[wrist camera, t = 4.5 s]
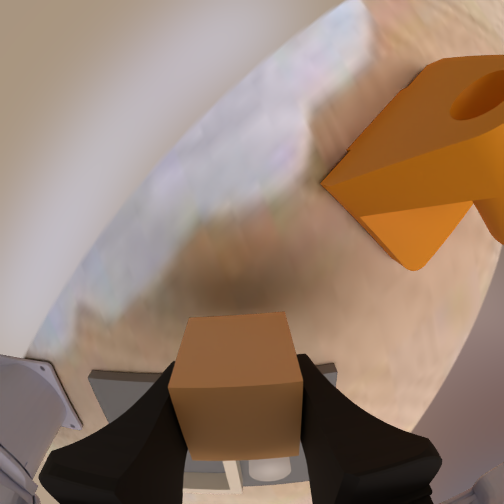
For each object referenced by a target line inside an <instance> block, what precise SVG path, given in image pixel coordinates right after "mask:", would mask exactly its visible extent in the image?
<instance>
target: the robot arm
mask: <svg viewBox="0 0 504 504" xmlns="http://www.w3.org/2000/svg"><path fill="white" fill-rule="evenodd" d="M296 356H297V359H298V363H299V367H300V371H301V374H302V378H303V399H302V417H301V434H300V440H301V444H302V447H303V451H304V454H305V458H306V463H307V469H308V475H309V481H310V488H311V495H312V502H313V504H433V502H432V500H431V497H430V495H431V494H432V489H431V487H430V485H429V484H430V482H431V481H432V479H433V478H434V477H435V475H436V474H437V472H438V471H439V469H440V467H441V465H442V459H441V457H440V456H439V453H438V452H437V450H436V448H435V447H434V445H433V444H432V443H431V442H430V440H429V439H428V438H425V437H422V436H418V435H415V434H412V433H409V432H406V431H403V430H401V429H398V428H396V427H394V426H391V425H389V424H387V423H385V422H383V421H381V420H380V419H378V418H376V417H374V416H372V415H371V414H369V413H367V412H366V411H364V410H363V409H361V408H360V407H359V406H357V405H356V404H354V403H353V402H352V401H351V400H349V399H348V398H347V397H346V396H345V395H343V394H342V393H341V392H340V391H339V390H338V389H337V388H336V387H335V386H334V385H333V384H332V383H331V382H330V381H329V380H328V379H327V378H326V377H325V376H324V375H323V374H322V373H321V372H320V370H319V369H318V368H317V367H316V366H315V365H314V363H313V362H312V361H311V359H310V358H309V357H308V356H307V355H306V354H298V355H296ZM175 362H176V361H173V362H172V363H171V364H170V365H169V366H168V367H167V369H166V370H165V371H164V372H163V373H162V375H161V376H160V377H159V378H158V379H157V380H156V382H155V383H154V384H153V385H152V386H151V387H150V388H149V389H148V390H147V392H146V393H145V394H144V395H143V396H142V397H141V398H140V399H139V400H138V401H137V402H136V403H135V404H134V405H133V406H131V407H130V408H129V409H128V410H127V411H126V412H124V413H123V414H122V415H121V416H119V417H118V418H117V419H115V420H114V421H113V422H111V423H109V424H108V425H106V426H105V427H103V428H102V429H100V430H99V431H97V432H95V433H93V434H92V435H90V436H88V437H86V438H84V439H82V440H80V441H77V442H75V443H73V444H70V445H67V446H65V447H62V448H59V449H56V450H53V451H51V453H50V455H49V456H48V458H47V460H46V462H45V464H44V466H43V468H42V470H41V473H40V474H39V480H40V483H41V484H42V486H43V487H44V488H45V489H46V490H47V491H48V493H49V494H50V495H51V496H53V497H54V499H56V500H57V501H58V502H59V503H60V504H182V498H183V480H184V468H185V461H186V456H187V451H188V447H187V444H186V442H185V439H184V436H183V433H182V430H181V427H180V424H179V422H178V419H177V416H176V412H175V409H174V406H173V403H172V400H171V397H170V393H169V390H168V385H169V382H170V378H171V375H172V372H173V368H174V365H175ZM61 426H62V427H67V428H71V429H76V430H82V428H83V426H82V424H81V422H80V420H79V419H78V417H77V415H76V413H75V412H74V410H73V408H72V406H71V404H70V402H69V400H68V398H67V396H66V394H65V392H64V390H63V388H62V386H61V384H60V382H59V380H58V378H57V376H56V374H55V371H54V369H53V367H52V365H51V364H49V363H47V362H42V361H35V360H29V359H22V358H17V357H11V356H6V355H0V504H41V503H40V499H39V497H38V496H37V495H36V494H35V492H36V490H37V487H38V485H37V484H36V483H34V481H32V480H33V478H34V476H35V474H36V472H37V470H38V468H39V466H40V464H41V462H42V460H43V458H44V456H45V454H46V452H47V451H48V449H49V447H50V445H51V443H52V441H53V439H54V438H55V436H56V434H57V432H58V430H59V429H60V427H61ZM440 504H504V462H503V463H502V464H500V465H498V466H497V467H495V468H494V469H492V470H490V471H488V472H487V473H485V474H484V475H483V476H481V477H480V478H479V479H478V480H477V481H476V482H475V484H474V485H473V487H472V488H470V489H468V490H466V491H464V492H462V493H460V494H458V495H456V496H454V497H452V498H450V499H448V500H446V501H444V502H442V503H440Z"/></svg>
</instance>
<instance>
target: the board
mask: <svg viewBox="0 0 504 504" xmlns="http://www.w3.org/2000/svg"><path fill="white" fill-rule="evenodd" d="M316 367H317V368H318V369H319V370H320V372H321V373H322V374H323V375H324V376H325V377H326V378H327V379H328V380H329V381H330V382H331V383H332V384H333V385H334V386H335V387H336V380H337V370H336V367H335V365H334V363H333V364H326V365H319V366H316ZM161 375H162V374H145V373H124V372H108V371H96V370H92V372H91V373H90V375H89V377H88V380H89V382H90V384H91V387H92V389H93V391H94V393H95V396H96V398H97V400H98V402H99V404H100V406H101V408H102V410H103V412H104V414H105V416H106V418H107V420H108V422H109V423H111V422H113V421H114V420H115V419H117V418H118V417H119V416H121V415H122V414H123V413H124V412H126V411H127V410H128V409H129V408H130V407H131V406H133V405H134V404H135V403H136V402H137V401H138V400H139V399H140V398H141V397H142V396H143V395H144V394H145V393H146V392H147V390H148V389H149V388H150V387H151V386H152V385H153V384H154V383H155V382H156V380H157V379H158V378H159V377H160V376H161ZM303 481H309V475H308V469H307V463H306V458H305V454H304V451H303V447H302V444H301V440H300V448H299V456H292V457H282V458H271V459H258V460H237V461H196V460H192V458H191V455H190V453H189V450H188V451H187V456H186V461H185V468H184V480H183V493H196V494H243V486H262V485H276V484H286V483H295V482H303Z"/></svg>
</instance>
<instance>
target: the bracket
mask: <svg viewBox="0 0 504 504" xmlns="http://www.w3.org/2000/svg"><path fill="white" fill-rule="evenodd" d="M347 151H348V154H347V155H346V156H345V157H344V158H343V159H342V160H341V161H340V162H339V163H338V165H337V166H336V167H335V168H334V169H333V170H332V171H331V172H330V173H329V174H328V176H327V177H326V178H325V179H324V180H323V181H322V182H321V183H320V184H321V185H322V186H323V187H324V188H325V189H326V190H327V191H328V192H329V193H330V194H331V195H332V196H333V197H334V198H335V199H336V200H337V201H338V202H339V203H340V204H341V205H342V206H343V207H344V208H345V209H346V210H347V211H348V212H349V213H350V214H351V215H352V216H353V217H354V218H355V219H356V220H357V221H358V222H359V223H360V224H361V225H362V226H363V227H364V228H365V230H366V231H367V232H368V233H369V234H370V235H371V236H372V237H373V238H374V239H375V240H376V241H377V242H378V244H379V245H380V246H381V247H382V248H383V249H384V250H385V251H386V252H387V253H388V255H389V256H390V257H391V258H392V259H394V260H395V261H397V262H398V263H399V264H401V265H402V266H403V267H405V268H406V269H408V270H410V271H416V270H419V269H421V268H422V267H424V266H425V265H426V263H427V262H428V261H429V260H430V259H431V257H432V256H433V255H434V254H435V253H436V251H437V250H438V249H439V248H440V247H441V245H442V244H443V243H444V242H445V240H446V239H447V238H448V237H449V235H450V234H451V233H452V231H453V230H454V229H455V227H456V226H457V225H458V224H459V222H460V221H461V220H462V218H463V217H464V216H465V214H466V213H467V211H468V210H469V209H470V207H471V206H472V204H473V203H474V205H475V206H476V208H477V210H478V212H479V213H480V215H481V217H482V219H483V221H484V222H485V224H486V226H487V228H488V230H489V232H490V233H491V235H492V236H493V237H494V238H495V239H496V240H497V241H498V242H500V243H501V244H503V245H504V55H481V56H465V57H453V58H443V59H441V60H438V61H436V62H434V63H431V64H429V65H427V66H426V67H425V68H424V69H423V71H422V72H421V73H420V74H419V75H418V76H417V77H416V78H415V79H414V81H413V82H412V83H411V84H410V85H409V86H408V87H407V88H405V89H402V90H401V91H400V92H399V93H398V94H397V95H396V96H395V97H394V98H393V99H392V101H391V102H390V103H389V104H388V105H387V106H386V107H385V108H384V109H383V110H382V112H381V113H380V114H379V115H378V116H377V117H376V118H375V119H374V120H373V121H372V123H371V124H370V125H369V126H368V127H367V128H366V129H365V130H364V131H363V132H362V134H361V135H360V136H359V137H358V138H357V139H356V140H355V141H354V142H353V143H352V145H351V146H350V147H349V148H348V149H347Z"/></svg>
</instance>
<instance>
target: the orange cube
mask: <svg viewBox="0 0 504 504" xmlns="http://www.w3.org/2000/svg"><path fill="white" fill-rule="evenodd" d="M168 390H169V393H170V397H171V400H172V403H173V406H174V409H175V412H176V416H177V419H178V422H179V424H180V427H181V430H182V433H183V436H184V439H185V442H186V444H187V447H188V450H189V453H190V455H191V458H192V460H196V461H237V460H258V459H271V458H282V457H292V456H299V448H300V434H301V417H302V399H303V378H302V374H301V371H300V367H299V363H298V359H297V356H296V352H295V348H294V344H293V341H292V337H291V333H290V330H289V326H288V322H287V318H286V315H285V312H273V313H260V314H246V315H230V316H212V317H190V318H189V320H188V323H187V326H186V329H185V332H184V336H183V339H182V342H181V345H180V348H179V352H178V355H177V358H176V362H175V365H174V368H173V372H172V375H171V378H170V382H169V385H168Z"/></svg>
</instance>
